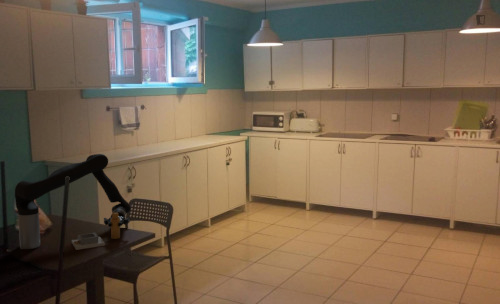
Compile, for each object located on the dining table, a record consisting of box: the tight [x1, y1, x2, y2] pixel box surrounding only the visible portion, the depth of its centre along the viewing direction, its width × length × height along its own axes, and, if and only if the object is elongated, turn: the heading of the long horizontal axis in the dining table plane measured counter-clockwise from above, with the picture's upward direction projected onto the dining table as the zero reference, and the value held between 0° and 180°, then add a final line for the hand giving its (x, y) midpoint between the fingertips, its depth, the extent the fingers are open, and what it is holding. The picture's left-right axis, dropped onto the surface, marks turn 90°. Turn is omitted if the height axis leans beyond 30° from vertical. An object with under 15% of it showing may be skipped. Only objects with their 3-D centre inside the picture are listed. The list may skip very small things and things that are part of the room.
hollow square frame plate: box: [71, 232, 106, 251], centre depth 241 cm, size 14×12×4 cm
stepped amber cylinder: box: [110, 213, 121, 240], centre depth 246 cm, size 4×4×13 cm
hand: (114, 224), depth 243 cm, fingers closed on stepped amber cylinder, 4 cm apart
